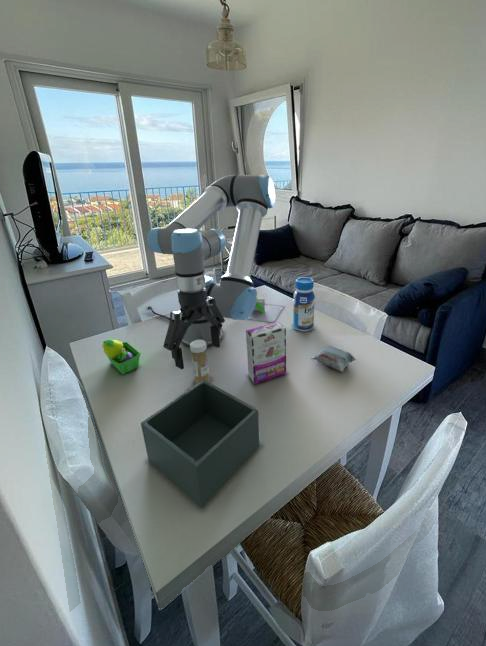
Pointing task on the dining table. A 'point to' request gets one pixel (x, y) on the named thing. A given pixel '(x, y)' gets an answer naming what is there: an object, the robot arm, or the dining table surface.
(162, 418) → the grey storage bin
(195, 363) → the sprinkles bottle
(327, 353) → the packaged food
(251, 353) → the candy bar box
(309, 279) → the beverage bottle
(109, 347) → the fruit basket
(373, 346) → the dining table surface
